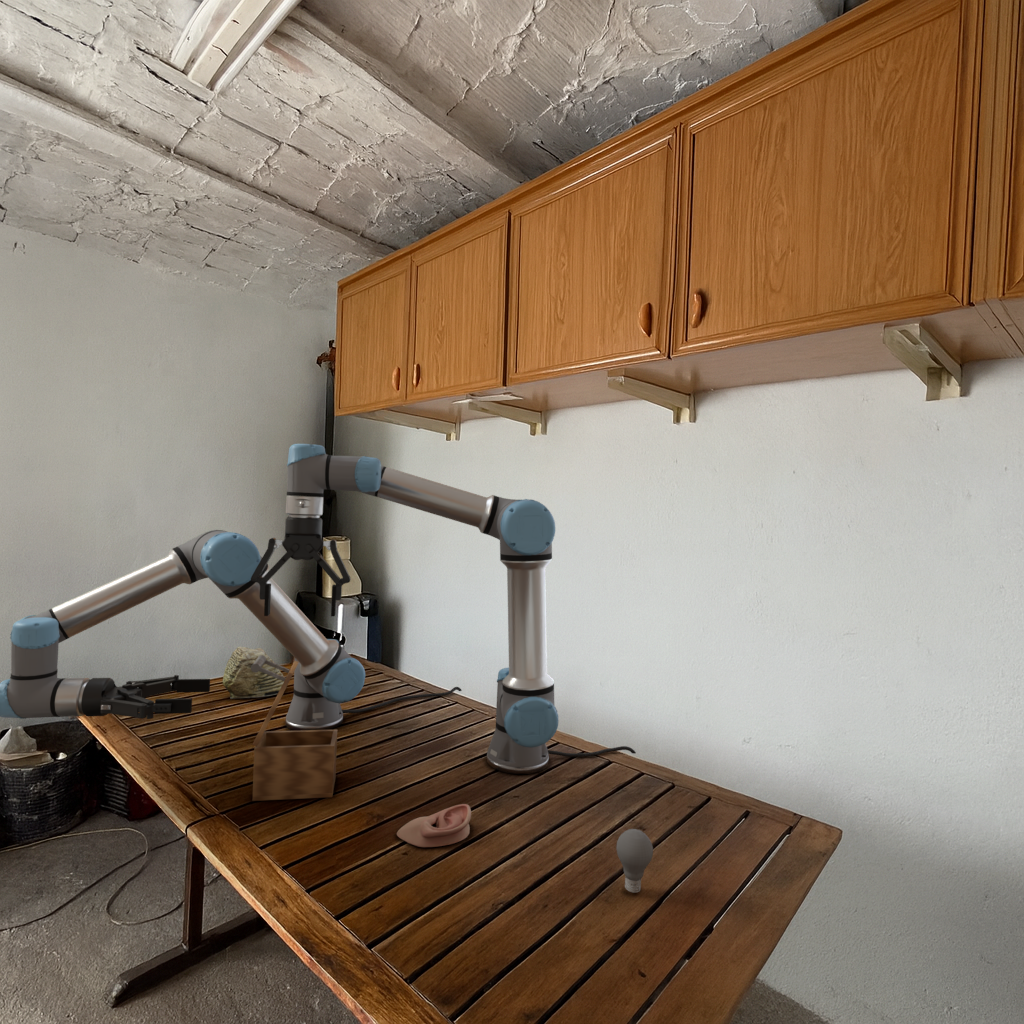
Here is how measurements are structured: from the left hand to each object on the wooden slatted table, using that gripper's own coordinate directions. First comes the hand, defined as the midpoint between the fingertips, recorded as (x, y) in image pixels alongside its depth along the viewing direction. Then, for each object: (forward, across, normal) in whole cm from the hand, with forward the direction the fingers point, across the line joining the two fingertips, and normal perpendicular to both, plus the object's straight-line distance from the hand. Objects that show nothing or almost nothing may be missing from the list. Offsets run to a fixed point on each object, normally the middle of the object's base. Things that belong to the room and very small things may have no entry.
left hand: (201, 695), depth 133 cm
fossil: (-1, -67, -21) cm, 70 cm away
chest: (+20, 0, -21) cm, 29 cm away
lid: (+16, 0, -2) cm, 16 cm away
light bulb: (+79, +44, -21) cm, 93 cm away
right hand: (+19, 0, +17) cm, 26 cm away
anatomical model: (+48, +22, -21) cm, 57 cm away
